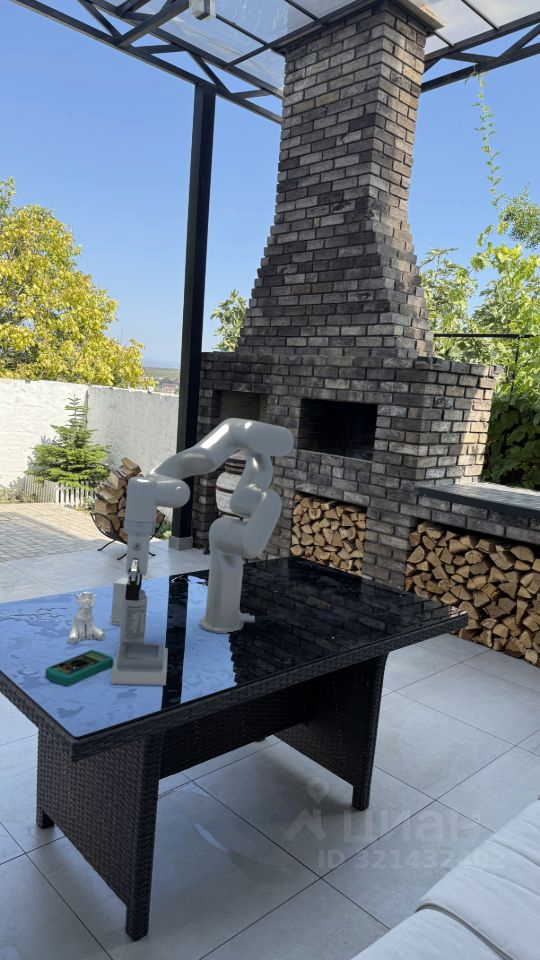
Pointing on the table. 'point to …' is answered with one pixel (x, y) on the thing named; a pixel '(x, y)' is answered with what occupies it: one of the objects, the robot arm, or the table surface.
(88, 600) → the white animal figurine
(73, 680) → the digital multimeter
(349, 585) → the table surface
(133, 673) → the white square stepped base
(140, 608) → the energy drink can
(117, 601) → the skincare box
